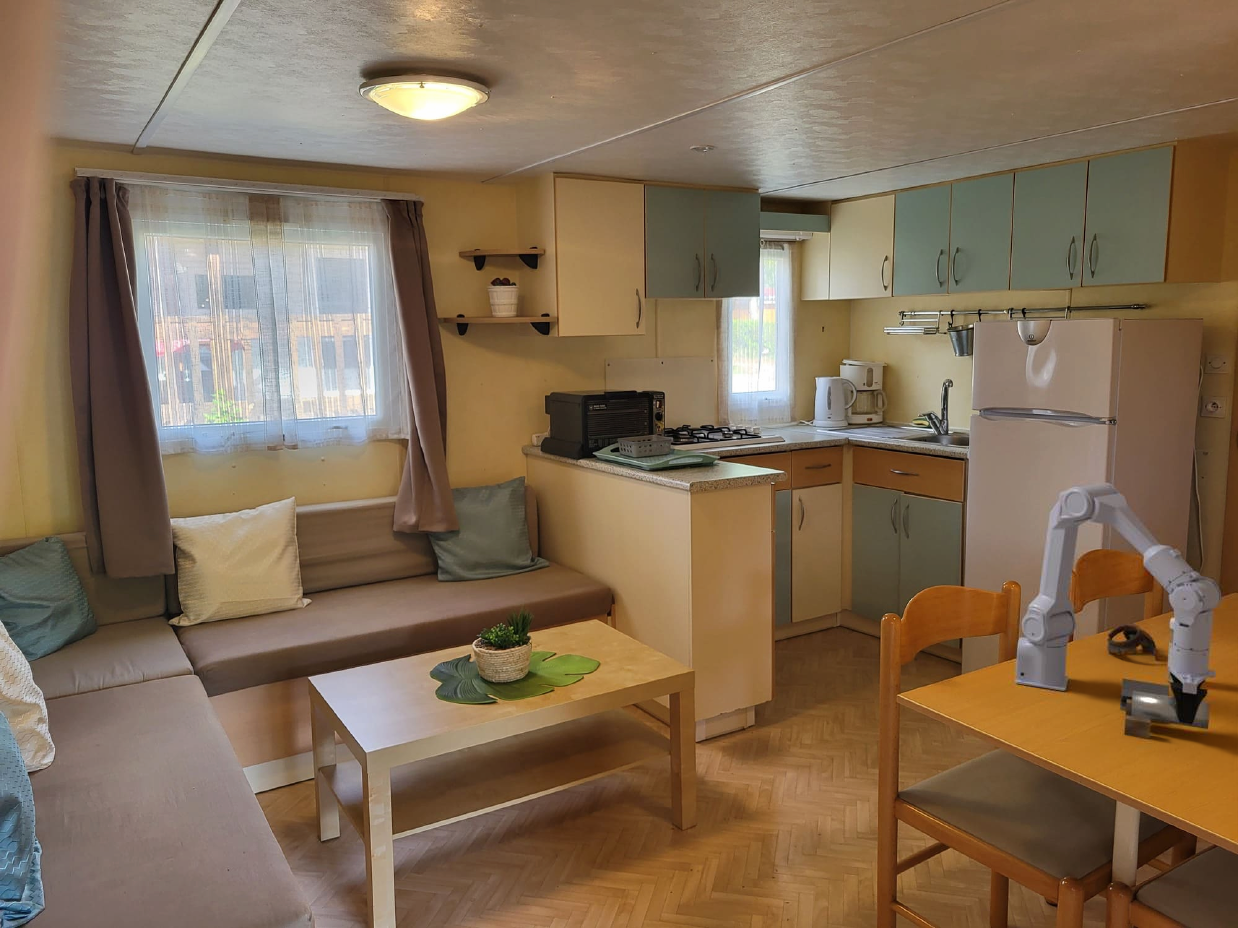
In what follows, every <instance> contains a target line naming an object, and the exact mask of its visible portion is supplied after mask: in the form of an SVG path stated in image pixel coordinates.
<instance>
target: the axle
mask: <svg viewBox="0 0 1238 928" xmlns="http://www.w3.org/2000/svg"><path fill="white" fill-rule="evenodd" d="M1131 716H1134V717H1140V718H1146V719H1151V721H1154V722H1161V723H1166V724H1174V725H1179V726H1184V727H1192V728H1197V729H1202V730H1203V729H1204V730H1208V729H1209V721H1210V702H1209V701H1204V700H1202V702H1201V703H1200V705H1199V707H1198V710H1197V713H1196V716H1195V719H1194V722H1193V724H1186V723H1181V722H1179V720H1178V714H1177V705H1176V700H1175V697H1174V696H1171V695H1169V696H1165V695H1158V694H1152V693H1145V692H1138V691H1133V694H1132V712H1131Z"/></svg>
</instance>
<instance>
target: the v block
mask: <svg viewBox="0 0 1238 928" xmlns="http://www.w3.org/2000/svg"><path fill="white" fill-rule="evenodd" d="M1121 683H1122V684H1121V695H1120V710H1122V711H1126V704H1127V699H1129V700H1132V694H1133V691H1138V692H1145V693H1152V694H1158V695H1165V696H1170V684H1169V685H1167V684H1161V683H1154V682H1148V681H1147V682H1146V681H1141V680H1134V679H1127V678H1122V682H1121Z"/></svg>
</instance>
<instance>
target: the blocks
mask: <svg viewBox="0 0 1238 928" xmlns="http://www.w3.org/2000/svg"><path fill="white" fill-rule="evenodd" d="M1131 712H1132V700H1129V699H1127V704H1126V710H1125V717H1124V731H1123V732H1124V735H1126V736H1132V737H1137V738H1143V739H1148V740H1149V739H1150V736H1151V735H1150V734H1151V721H1152V720H1151V719H1146V718H1140V717H1134V716H1131Z"/></svg>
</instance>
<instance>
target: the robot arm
mask: <svg viewBox="0 0 1238 928" xmlns="http://www.w3.org/2000/svg"><path fill="white" fill-rule="evenodd" d="M1048 518H1049V519H1048V526H1047V532H1046V541H1045V548H1044V555H1043V560H1042V561H1043V562H1042V569H1041V577H1040V583H1039V584H1040V585H1039V591H1038V595H1037V596H1036V597H1035V598H1034V599H1033V600H1032V601H1031V602H1030V603H1029V604H1028V607H1027V612H1026V614H1025V615H1024V617H1023V618H1022V621H1021V629H1022V632H1023V634H1024V636H1025V637H1019V639H1018V641H1017V650H1016V662H1015V680H1014V682H1015V683H1016V684H1020V685H1027V686H1030V687H1031V686H1032V687H1037V688H1038V687H1039V688H1043V689H1050V690H1056V691H1062V692H1064V691H1065V692H1066V690H1067V686H1068V682H1069V676H1068V675H1066V671H1067V669H1066V667H1067V654H1068V652H1067V651H1068V642H1069V640H1070V636H1071V635H1073V634H1074V633H1075V631H1076V628H1077V620H1076V617H1075V605H1074V603H1073V602H1072V601H1071V600H1070V599H1069V598H1070V597H1069V595H1070V588H1071V581H1072V577H1073V576H1072V574H1073V569H1074V560H1075V554H1076V553H1075V552H1076V547H1077V540H1078V539H1077V538H1078V532H1079V528H1080V526H1081V525H1083V524H1085V523H1087V522H1088V521H1089V522H1091V523H1095V524H1102V525H1108V526H1112V527H1113V528H1114V529H1115V530H1116V531H1117V532H1118V533H1119V534H1120V535H1121V536H1122V537H1123V538H1124V539H1126V541H1128V542H1129V543H1130V544H1131V545H1132V546H1133V548H1135V549H1136V550H1137V551H1138V552H1139V553H1140V554H1141V555H1142V556H1143V567H1144V568H1145V569H1146V570H1147V571H1148V572H1149V573H1150V574H1151V575H1152V576H1153V577H1154V579H1155V580H1156V581H1157V582H1158V583H1159V584H1160V585H1161V586H1162V587H1163V588H1164V589H1165V590H1166V592H1168V601H1169V603H1170V606H1171V607H1172V609H1173V613H1174V615H1173V616H1174V617H1173V618H1175V622H1174V634H1173V646H1172V659H1171V665H1170V668H1169V670H1170V675H1171V677H1172V679H1173V682H1169V688H1170V690H1171V692H1172V694H1173V697H1175V700H1176V705H1177V714H1178V720H1179V722H1181V723H1186V724H1193V722H1194V719H1195V716H1196V713H1197V710H1198V707H1199V705H1200V703H1201V702H1202V701H1204V699H1205V698H1206V696H1207V695H1208V689H1205V688H1202V685H1203V684H1204V683H1205V681H1206V680H1207V679H1208V678H1213V679H1215V678H1216V675H1217V674H1216V673H1217V672H1216V670H1212V669H1209V664H1210V663H1209V662H1210V652H1211V651H1210V650H1211V641H1212V629H1213V619H1214V618H1213V616H1214V610H1213V609H1215V608H1217V607H1218V606H1219V605H1220V603H1221V601H1222V593H1221V590H1220V588H1219V586H1218V585H1217V584H1216V582H1215V581H1214V580H1213V579H1212V578H1209V577H1205V576H1202V575H1201V574H1200V573H1199V572H1198V571H1195V570H1194V569H1193V568H1192V567H1191V566H1190V565H1189V564H1188V563H1187V562H1186V561H1185V559H1183V557H1182V556H1181V555H1182V553H1181V552H1180V550H1179V549H1177V548H1175V549H1174V548H1173V547H1172V546H1170V545H1164V544H1160V542H1158V540H1156V538H1155V536H1154V535H1152V533H1151V532H1150V531H1149V529H1148V528H1147V527H1146V526H1145V525H1144V524H1143V523H1142V521H1141V520H1140V519H1139V517H1137V515H1136V514H1135V513H1134V511H1132V509H1131V508H1130V507H1129V505H1128V503H1127V499H1126V497H1125V496H1124V495H1123V494H1122V493H1120V492H1119V491H1118V489H1117V488H1116V487H1115V486H1114V485H1113V484H1111V483H1109V482H1098V483H1097V484H1091V485H1090V484H1089V485H1084V486H1074V487H1070V488H1068V489H1066V490H1064V491H1061V492H1060V493H1059V498H1058V501H1057V502H1056V503H1055V505H1054V507H1053V508H1052V509H1051V510H1050V512H1049V517H1048Z"/></svg>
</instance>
